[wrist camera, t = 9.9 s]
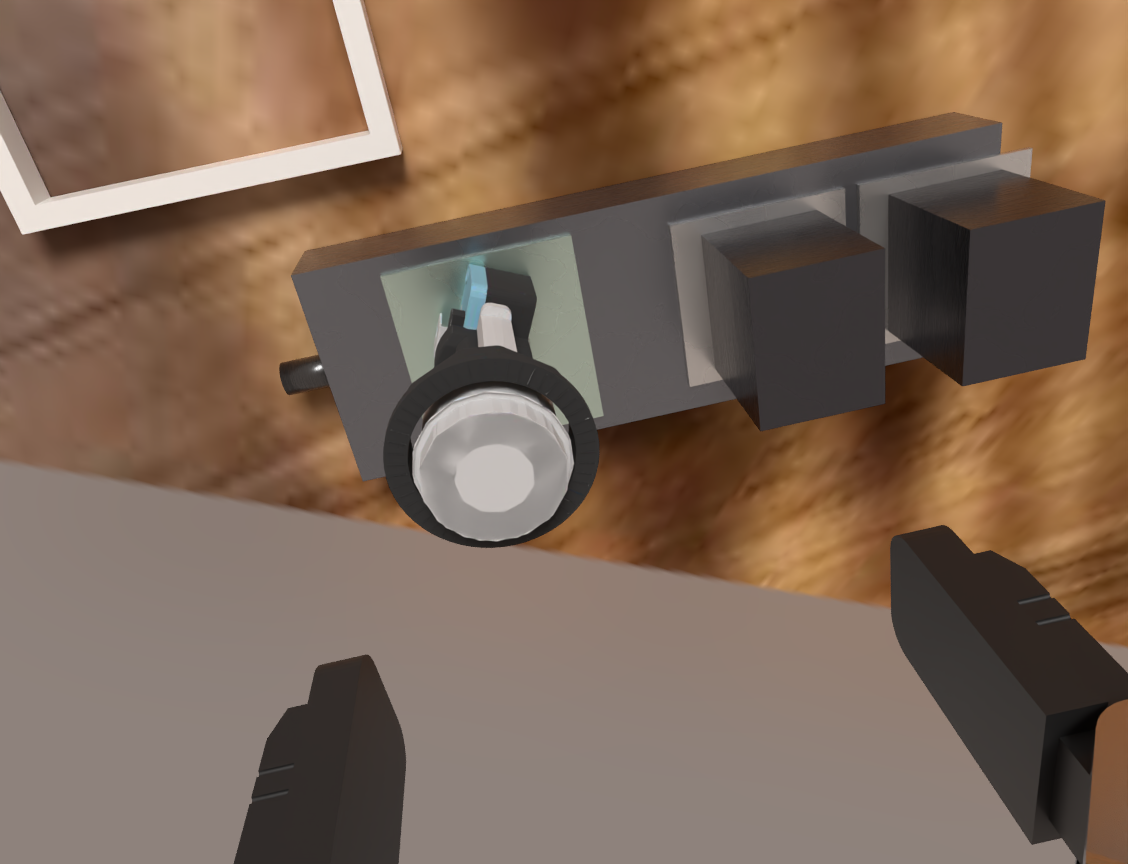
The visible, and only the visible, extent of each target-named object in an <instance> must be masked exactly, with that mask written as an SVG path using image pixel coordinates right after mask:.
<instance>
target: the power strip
mask: <svg viewBox="0 0 1128 864" xmlns="http://www.w3.org/2000/svg"><path fill="white" fill-rule="evenodd" d="M1001 134H1002V123H1001V122H997V121H992V120H987V119H983V118H978V117H974V116H969V115H964V114H960V113H955V112H953V113H948V114H943V115H939V116H934V117H929V118H925V119H920V120H915V121H911V122H906V123H901V124H897V125H892V126H887V127H883V128H878V129H873V130H869V131H864V132H859V133H855V134H850V135H845V136H841V137H836V138H831V139H827V140H822V141H817V142H813V143H808V144H803V145H799V146H794V147H789V148H785V149H780V150H775V151H771V152H766V153H761V154H757V155H752V156H747V157H743V158H738V159H733V160H729V161H724V162H719V163H714V164H710V165H705V166H700V167H696V168H691V169H686V170H682V171H677V172H672V173H668V174H663V175H658V176H654V177H649V178H644V179H640V180H635V181H630V182H626V183H621V184H616V185H612V186H607V187H602V188H598V189H593V190H588V191H584V192H579V193H574V194H570V195H565V196H560V197H556V198H551V199H546V200H542V201H537V202H532V203H528V204H523V205H518V206H514V207H509V208H504V209H500V210H495V211H490V212H486V213H481V214H476V215H472V216H467V217H462V218H458V219H453V220H448V221H444V222H439V223H434V224H430V225H425V226H420V227H416V228H411V229H406V230H402V231H397V232H392V233H388V234H383V235H378V236H374V237H369V238H364V239H360V240H355V241H350V242H346V243H341V244H336V245H332V246H327V247H322V248H318V249H313V250H308V251H305V252H304V254H303V255H302V257H301V259H300V261H299V262H298V264H297V266H296V268H295V269H294V271H293V273H292V275H291V277H292V280H293V283H294V286H295V288H296V291H297V294H298V297H299V300H300V303H301V306H302V308H303V311H304V314H305V317H306V320H307V323H308V326H309V328H310V331H311V334H312V337H313V340H314V343H315V346H316V348H317V351H318V354H319V355H315V356H311V357H306V358H301V359H297V360H292V361H288V362H283V363H281V364H280V367H279V370H280V378H281V381H282V385H283V387H284V389H285V391H286V393H287V394H288V395H293V394H297V393H302V392H307V391H311V390H316V389H320V388H325V387H329V386H330V388H331V391H332V394H333V397H334V400H335V403H336V406H337V408H338V411H339V414H340V417H341V420H342V423H343V426H344V428H345V431H346V434H347V437H348V440H349V443H350V446H351V448H352V451H353V454H354V457H355V460H356V463H357V466H358V468H359V471H360V474H361V477H362V480H363V481H367V480H371V479H376V478H380V477H385V476H386V475H385V471H384V463H383V447H384V441H385V434H386V429H387V426H388V422H389V420H390V417H391V415H392V412H393V410H394V409H395V407H396V405H397V403H398V402H399V400H400V399H401V398H402V396H403V395H404V393H405V392H406V391H407V390H408V388H409V386H410V385H411V384H412V383H413V382H414V381H416V380H417V379H419V378H420V377H421V376H423V375H424V374H426V373H427V372H429V371H430V370H432V369H433V368H434V359H435V358H434V340H435V334H436V329H437V324H438V318H439V314H440V313H442V326H443V327H448V323H449V317H450V313H451V309H452V308H453V309H459V310H460V307H461V302H462V298H463V293H464V288H465V278H466V273H467V268H468V264H472V265H477V266H481V267H488V268H493V269H497V270H502V271H507V272H512V273H517V274H521V275H526V276H530V277H531V279H532V282H533V286H534V289H535V292H536V296H537V303H536V308H535V312H534V316H533V321H532V325H531V329H530V333H529V343H530V348H531V352H532V356H533V359H535V360H537V361H540V362H542V363H545V364H547V365H550V366H552V367H554V368H556V369H557V370H558V372H559V373H560V374H561V375H562V376H563V377H565V378H566V379H567V380H568V381H569V382H570V383H571V384H572V385H573V386H574V387H575V388H576V389H577V390H578V391H579V393H580V394H581V396H582V397H583V398H584V400H585V402H586V403H587V405H588V407H589V409H590V412H591V414H592V416H593V419H594V422H595V425H596V429H602V428H606V427H611V426H615V425H620V424H624V423H629V422H633V421H638V420H642V419H647V418H651V417H656V416H660V415H665V414H669V413H674V412H678V411H683V410H688V409H692V408H697V407H701V406H706V405H710V404H715V403H719V402H724V401H728V400H733V399H737V400H738V401H739V402H740V404H741V405H742V407H743V408H744V409H745V411H746V412H747V413H748V415H749V416H750V418H751V419H752V420H753V422H754V423H755V424H756V426H757V427H758V429H759V430H760V431H764V430H769V429H773V428H778V427H782V426H787V425H791V424H796V423H800V422H805V421H809V420H814V419H818V418H823V417H827V416H832V415H836V414H841V413H845V412H850V411H854V410H859V409H863V408H868V407H872V406H877V405H881V404H885V366H886V365H891V364H895V363H900V362H904V361H909V360H913V359H918V358H922V357H924V358H925V359H926V360H928V361H929V362H930V363H932V364H933V365H934V366H936V367H937V368H938V369H940V370H941V371H942V372H944V373H945V374H946V375H948V376H949V377H950V378H952V379H953V380H954V381H956V382H957V383H958V384H960V385H961V386H967V385H971V384H976V383H980V382H984V381H989V380H993V379H998V378H1002V377H1007V376H1011V375H1016V374H1020V373H1025V372H1029V371H1034V370H1038V369H1043V368H1047V367H1052V366H1056V365H1061V364H1065V363H1070V362H1074V361H1079V360H1083V359H1085V358H1086V350H1087V342H1088V335H1089V327H1090V319H1091V311H1092V303H1093V295H1094V287H1095V279H1096V271H1097V263H1098V256H1099V248H1100V240H1101V232H1102V224H1103V216H1104V208H1105V200H1102V199H1099V198H1096V197H1092V196H1089V195H1086V194H1082V193H1079V192H1076V191H1072V190H1069V189H1066V188H1062V187H1059V186H1056V185H1052V184H1049V183H1046V182H1042V181H1039V180H1036V179H1033V178H1030V171H1031V159H1032V148H1029V147H1028V148H1023V149H1019V150H1014V151H1009V152H1005V153H1000V149H1001ZM553 406H554V410H555V413H556V417H557V419H558V420H559V421H560V423H561V424H562V426H563V427H564V429H565V430H566V432H567V433H568V432H569V422H568V420H567V419H566V417H565V415H564V414H563V413H562V412H561V410H560V409H559V408H558V407H557V406H556V405H555V404H554V403H553ZM422 423H423V415H422V416H421V418H420V419H419V421H418V422H417V424H416V426H415V428H414V430H413V432H412V435H411V443H412V447H413V449H414V445H415V443H416V441H417V439H418V437H419V435H420V434H421V432H422Z"/></svg>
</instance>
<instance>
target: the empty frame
mask: <svg viewBox="0 0 1128 864" xmlns="http://www.w3.org/2000/svg"><path fill="white" fill-rule="evenodd" d="M333 3H334V7H335V11H336V14H337V18H338V21H339V25H340V28H341V32H342V36H343V39H344V43H345V46H346V50H347V53H348V57H349V61H350V64H351V68H352V71H353V75H354V78H355V82H356V86H357V89H358V93H359V96H360V100H361V103H362V107H363V111H364V114H365V118H366V121H367V125H368V128H369V130H368V131H363V132H358V133H354V134H349V135H344V136H339V137H335V138H330V139H325V140H320V141H316V142H311V143H306V144H301V145H297V146H292V147H287V148H282V149H278V150H273V151H268V152H264V153H259V154H254V155H249V156H245V157H240V158H235V159H230V160H226V161H221V162H216V163H211V164H207V165H202V166H197V167H192V168H188V169H183V170H178V171H173V172H169V173H164V174H159V175H155V176H150V177H145V178H140V179H136V180H131V181H126V182H121V183H117V184H112V185H107V186H102V187H98V188H93V189H88V190H83V191H79V192H74V193H69V194H64V195H60V196H55V197H50V195H49V193H48V191H47V189H46V186H45V184H44V182H43V180H42V178H41V176H40V174H39V172H38V169H37V167H36V165H35V163H34V161H33V159H32V157H31V155H30V152H29V150H28V148H27V146H26V144H25V142H24V140H23V138H22V136H21V133H20V131H19V129H18V127H17V125H16V123H15V121H14V119H13V116H12V114H11V112H10V110H9V108H8V106H7V104H6V102H5V99H4V97H3V95H2V93H1V91H0V191H1V193H2V195H3V197H4V199H5V201H6V203H7V205H8V207H9V209H10V211H11V213H12V215H13V217H14V219H15V221H16V223H17V225H18V227H19V229H20V231H21V233H22V235H23V234H27V233H32V232H37V231H41V230H46V229H51V228H56V227H60V226H65V225H70V224H75V223H79V222H84V221H89V220H93V219H98V218H103V217H108V216H112V215H117V214H122V213H126V212H131V211H136V210H141V209H145V208H150V207H155V206H159V205H164V204H169V203H174V202H178V201H183V200H188V199H192V198H197V197H202V196H207V195H211V194H216V193H221V192H226V191H230V190H235V189H240V188H244V187H249V186H254V185H259V184H263V183H268V182H273V181H277V180H282V179H287V178H292V177H296V176H301V175H306V174H310V173H315V172H320V171H325V170H329V169H334V168H339V167H343V166H348V165H353V164H358V163H362V162H367V161H372V160H377V159H381V158H386V157H391V156H395V155H400V154H401V153H402V149H403V148H402V144H401V140H400V137H399V133H398V129H397V125H396V121H395V118H394V114H393V110H392V106H391V103H390V99H389V95H388V91H387V87H386V84H385V80H384V76H383V72H382V68H381V65H380V61H379V57H378V53H377V50H376V46H375V42H374V38H373V34H372V31H371V27H370V23H369V19H368V16H367V12H366V8H365V4H364V0H333Z"/></svg>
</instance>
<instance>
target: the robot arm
mask: <svg viewBox="0 0 1128 864" xmlns="http://www.w3.org/2000/svg"><path fill="white" fill-rule="evenodd" d="M890 557H891V614H892V622H893V627H894V630H895V633H896V637H897V639H898V642H899V644H900V646H901V648H902V650H903V652H904V654H905V656H906V657H907V658H908V660H909V662H910V663H911V665H912V666H913V667H914V669H915V670H916V672H917V674H918V675H919V677H920V678H921V680H922V681H923V683H924V684H925V686H926V687H927V689H928V690H929V692H930V693H931V695H932V696H933V697H934V699H935V700H936V702H937V704H938V705H939V707H940V708H941V710H942V711H943V713H944V714H945V716H946V717H947V718H948V720H949V721H950V723H951V724H952V726H953V728H954V729H955V730H956V732H957V734H958V735H959V737H960V738H961V739H962V741H963V743H964V744H965V745H966V747H967V749H968V750H969V751H970V753H971V754H972V756H973V757H974V759H975V760H976V762H977V763H978V765H979V766H980V768H981V769H982V771H983V772H984V774H985V775H986V777H987V778H988V780H989V781H990V783H991V784H992V786H993V787H994V789H995V790H996V792H997V793H998V795H999V796H1000V798H1001V799H1002V801H1003V802H1004V804H1005V805H1006V807H1007V808H1008V810H1009V811H1010V813H1011V814H1012V816H1013V817H1014V819H1015V820H1016V822H1017V823H1018V825H1019V826H1020V827H1021V829H1022V831H1023V832H1024V834H1025V835H1026V837H1027V838H1028V840H1029V841H1030V843H1031V844H1032V845H1033V844H1037V843H1041V842H1046V841H1050V840H1054V839H1059V838H1062V839H1063V840H1064V841H1065V843H1066V844H1067V845H1068V847H1069V849H1070V850H1071V851H1072V853H1073V854H1074V855H1075V857H1076V861H1075V864H1128V673H1127V672H1126V671H1125V670H1124V669H1123V668H1122V667H1121V666H1120V665H1119V664H1118V663H1117V662H1116V661H1115V660H1114V659H1113V658H1112V657H1111V656H1110V655H1109V654H1108V653H1107V652H1106V650H1105V649H1104V648H1103V647H1102V646H1101V645H1100V644H1099V643H1098V642H1097V641H1096V640H1095V639H1094V638H1093V637H1092V636H1091V635H1090V634H1089V633H1088V632H1087V631H1086V630H1085V629H1084V628H1083V627H1082V626H1081V625H1080V624H1079V623H1078V622H1077V621H1076V620H1075V619H1071V618H1070V615H1069V613H1068V612H1067V611H1066V609H1065V608H1064V607H1063V606H1062V605H1061V604H1060V603H1059V602H1058V601H1057V600H1056V599H1055V598H1051V597H1050V593H1049V592H1048V591H1047V590H1046V589H1045V588H1044V587H1043V586H1042V585H1041V584H1040V583H1039V582H1038V581H1037V580H1036V579H1035V578H1034V577H1033V576H1032V575H1031V574H1030V573H1029V572H1028V571H1027V570H1026V569H1025V568H1023V567H1022V566H1020V565H1018V564H1016V563H1014V562H1012V561H1010V560H1008V559H1006V558H1004V557H1003V556H1001V555H999V554H997V553H995V552H993V551H991V550H990V551H985V552H981V553H976V554H973V552H972V551H971V550H970V549H969V548H968V547H967V546H966V545H965V544H964V543H963V542H962V540H961V539H960V538H959V537H958V536H957V535H956V534H955V533H954V532H953V531H952V530H951V529H950V528H949V527H947V526H945V525H941V526H936V527H932V528H928V529H923V530H919V531H914V532H910V533H906V534H901V535H897V536H894V537H893V538H892V541H891V547H890ZM405 754H406V753H405V745H404V739H403V734H402V730H401V727H400V724H399V721H398V719H397V716H396V714H395V712H394V709H393V707H392V704H391V702H390V699H389V697H388V695H387V692H386V690H385V687H384V685H383V683H382V681H381V678H380V675H379V673H378V671H377V668H376V666H375V664H374V661H373V660H372V659H371V657H370V656H369V655H362V656H358V657H353V658H349V659H345V660H340V661H336V662H331V663H327V664H323V665H319V666H318V667H317V668H316V670H315V673H314V677H313V682H312V686H311V691H310V695H309V700H308V704H305V705H301V706H296V707H292V708H288V709H287V711H286V712H285V714H284V715H283V716H282V718H281V719H280V721H279V722H278V724H277V725H276V727H275V728H274V730H273V731H272V733H271V734H270V735H269V737H268V738H267V741H266V744H265V748H264V752H263V756H262V759H261V763H260V767H259V777H257V778H256V782H255V786H254V790H253V793H252V804H250V805H249V808H248V812H247V816H246V820H245V823H244V828H243V831H242V835H241V839H240V842H239V846H238V850H237V853H236V857H235V861H234V864H398V863H399V849H400V836H401V823H402V811H403V796H404V783H405V771H406V755H405Z"/></svg>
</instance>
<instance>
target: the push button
mask: <svg viewBox="0 0 1128 864" xmlns="http://www.w3.org/2000/svg"><path fill="white" fill-rule="evenodd" d="M536 303H537V296H536V292H535V289H534V286H533V282H532V279H531V277H530V276H526V275H521V274H517V273H512V272H507V271H502V270H497V269H493V268H488V267H481V266H477V265H472V264H468V268H467V273H466V278H465V288H464V293H463V298H462V302H461V307H460V310H459V309H453V308H452V309H451V313H450V317H449V323H448V327H443V326H442V313H440V314H439V318H438V324H437V329H436V334H435V340H434V358H435V359H434V368H433V369H432V370H430V371H429V372H427V373H426V374H424V375H423V376H421V377H420V378H419V379H417V380H416V381H414V382H413V383H412V384H411V385H410V386H409V388H408V390H407V391H406V392H405V393H404V395H403V396H402V398H401V399H400V400H399V402H398V403H397V405H396V407H395V409H394V410H393V412H392V415H391V417H390V420H389V422H388V426H387V429H386V434H385V441H384V447H383V463H384V471H385V475H386V479H387V482H388V485H389V488H390V490H391V492H392V494H393V496H394V498H395V499H396V501H397V502H398V504H399V505H400V507H401V508H402V509H403V510H404V512H405V513H406V514H407V515H408V516H409V517H410V518H411V519H412V520H413V521H414V522H416V523H417V524H418V525H419V526H421V527H422V528H424V529H425V530H427V531H428V532H430V533H432V534H434V535H436V536H438V537H440V538H442V539H445V540H447V541H450V542H454V543H457V544H460V545H466V546H471V547H481V548H495V547H505V546H511V545H516V544H520V543H524V542H527V541H530V540H532V539H535V538H537V537H539V536H542V535H544V534H546V533H547V532H549V531H551V530H553V529H554V528H556V527H557V526H558V525H560V524H561V523H563V522H564V521H565V520H566V519H567V518H568V517H569V516H571V515H572V513H573V512H574V511H575V510H576V509H577V508H578V507H579V506H580V504H581V503H582V502H583V500H584V499H585V497H586V495H587V494H588V492H589V490H590V488H591V486H592V484H593V481H594V479H595V476H596V472H597V468H598V463H599V439H598V432H597V429H596V425H595V422H594V419H593V416H592V414H591V412H590V409H589V407H588V405H587V403H586V402H585V400H584V398H583V397H582V396H581V394H580V393H579V391H578V390H577V389H576V388H575V387H574V386H573V385H572V384H571V383H570V382H569V381H568V380H567V379H566V378H565V377H563V376H562V375H561V374H560V373H559V372H558V370H557V369H556V368H554V367H552V366H550V365H547V364H545V363H542V362H540V361H537V360H535V359H533V356H532V352H531V348H530V343H529V333H530V329H531V325H532V321H533V316H534V312H535V308H536ZM553 403H554V404H555V405H556V406H557V407H558V408H559V409H560V410H561V412H562V413H563V414H564V415H565V417H566V419H567V420H568V422H569V432H568V433H567V432H566V430H565V429H564V427H563V426H562V424H561V423H560V421H559V420H558V419H557V417H556V413H555V410H554V406H553ZM422 415H423V423H422V432H421V434H420V435H419V437H418V439H417V441H416V443H415V445H414V449H413V447H412V443H411V435H412V432H413V430H414V428H415V426H416V424H417V422H418V421H419V419H420V418H421V416H422Z"/></svg>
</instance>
